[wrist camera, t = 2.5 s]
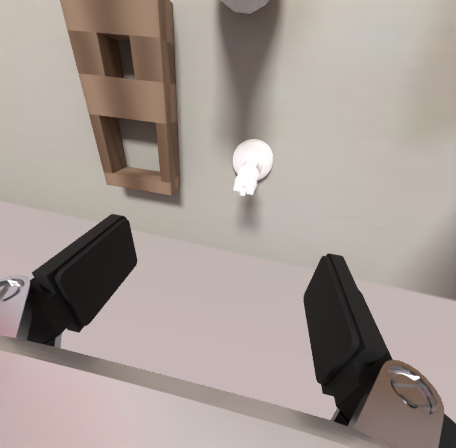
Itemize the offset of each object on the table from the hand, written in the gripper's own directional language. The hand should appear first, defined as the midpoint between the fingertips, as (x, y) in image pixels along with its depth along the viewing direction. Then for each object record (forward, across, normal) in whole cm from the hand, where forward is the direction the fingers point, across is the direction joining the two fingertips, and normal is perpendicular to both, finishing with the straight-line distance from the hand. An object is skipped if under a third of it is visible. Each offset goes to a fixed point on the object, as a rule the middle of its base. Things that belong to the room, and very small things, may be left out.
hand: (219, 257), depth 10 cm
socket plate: (+18, +14, -4) cm, 23 cm away
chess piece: (+18, 0, 0) cm, 18 cm away
